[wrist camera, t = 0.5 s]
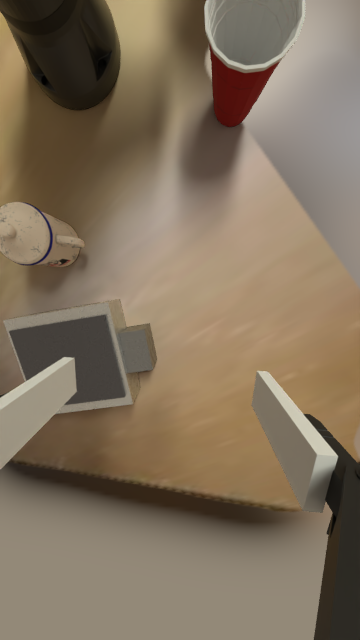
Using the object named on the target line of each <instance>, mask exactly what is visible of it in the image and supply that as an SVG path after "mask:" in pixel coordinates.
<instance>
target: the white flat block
mask: <svg viewBox="0 0 360 640" xmlns="http://www.w3.org/2000/svg"><path fill="white" fill-rule="evenodd" d="M3 322H4V325H5V328H6V330H7V333H8V336H9V339H10V342H11V344H12V347H13V350H14V353H15V356H16V358H17V361H18V364H19V367H20V370H21V372H22V375H23V378H24V381H25V382H26V381H27V380H29V379H31V378H32V377H34V376H35V375H37V374H38V373H40V372H42V371H43V370H45V369H46V368H48V367H49V366H51V365H52V364H54V363H56V362H57V361H59V360H60V359H62V358H63V357H71V358H74V359H75V374H76V389H77V392H76V393H75V394H74V395H73V396H72V397H71V398H70V399H69V400H68V401H67V402H66V403H65V404H64V405H63V406H62V407H61V408H60V409H59V410H58V411H57V412H56V413H55V414H60V413H67V412H75V411H83V410H91V409H99V408H106V407H114V406H122V405H130V404H133V403H134V401H135V398H136V396H137V394H138V392H139V390H140V383H139V378H138V374H137V372H140V371H147V370H153V368H154V366H155V363H156V361H157V356H156V351H155V346H154V342H153V337H152V332H151V327H150V323H149V324H143V325H137V326H131V327H126V323H125V318H124V314H123V310H122V306H121V301H120V299H116V300H111V301H105V302H99V303H94V304H88V305H82V306H76V307H71V308H65V309H59V310H53V311H48V312H42V313H36V314H30V315H26V316H21V317H17V318H12V319H7V320H3Z"/></svg>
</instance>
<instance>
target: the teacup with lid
mask: <svg viewBox="0 0 360 640" xmlns="http://www.w3.org/2000/svg"><path fill="white" fill-rule="evenodd" d="M84 246H85V242H84V241H83V240H82V239H79V238H78V236H77V234H76V232H75V230H74V229H73V228H72V227H71V226H70V225H69V224H67V223H65V222H63V221H61V220H59V219H57V218H55V217H52V216H50V215H48V214H46V213H44V212H42V211H40V210H39V209H37V208H36V207H34V206H32V205H30V204H28V203H24V202H11V203H8V204H5V205H3V206H2V207H1V208H0V251H1V252H2V253H3V254H4V255H5V256H6V257H7V258H8V259H10V260H12V261H13V262H15V263H18V264H21V265H44V266H54V267H65V266H68V265H70V264H72V263H73V262H74V261H75V260H76V258H77V257H78V254H79V250H80V248H84Z"/></svg>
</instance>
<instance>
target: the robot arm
mask: <svg viewBox="0 0 360 640" xmlns="http://www.w3.org/2000/svg"><path fill="white" fill-rule="evenodd" d="M0 11H1V13H2V14H3V16H4V17H5V19H6V21H7V24H8V26H9V28H10V30H11V32H12V35H13V37H14V39H15V41H16V44H17V46H18V48H19V50H20V53H21V55H22V57H23V59H24V61H25V64H26V66H27V68H28V69H29V71H30V73H31V75H32V76H33V78H34V79H35V80H36V82H37V83H38V84H39V85H40V87H41V88H42V89H43V91H44V92H45V93H46V94H47V95H48V96H49V97H50V98H51V99H52V100H53V101H54V102H56V103H57V104H59V105H61V106H63V107H66V108H69V109H75V110H81V109H87V108H90V107H92V106H94V105H96V104H98V103H99V102H101V101H102V100H103V99H104V98H105V97H106V96H107V95H108V93H109V92H110V91H111V89H112V87H113V85H114V83H115V81H116V78H117V75H118V72H119V67H120V43H119V38H118V34H117V31H116V27H115V24H114V21H113V17H112V14H111V12H110V9H109V7H108V5H107V3H106V1H105V0H0ZM76 392H77V389H76V374H75V359H74V358H71V357H63V358H62V359H60V360H59V361H57V362H56V363H54V364H52V365H51V366H49V367H48V368H46V369H45V370H43V371H42V372H40V373H38V374H37V375H35V376H34V377H32V378H31V379H29V380H27V381H26V382H24V383H23V384H21V385H20V386H18V387H17V388H15V389H13V390H12V391H10V392H8V393H5V394H3V395H1V396H0V469H1V468H2V467H3V466H4V465H5V464H6V463H7V462H8V461H9V460H10V459H11V458H12V457H13V456H14V455H15V454H16V453H17V452H18V451H19V450H20V449H21V448H22V447H23V446H24V445H25V444H26V443H27V442H28V441H29V440H30V439H31V438H32V437H33V436H34V435H35V434H36V433H37V432H38V431H39V430H40V429H41V428H42V427H43V426H44V425H45V424H46V422H47V421H48V420H49V419H50V418H51V417H52V416H53V415H54V414H55V413H56V412H57V411H58V410H59V409H60V408H61V407H62V406H63V405H64V404H65V403H66V402H67V401H68V400H69V399H70V398H71V397H72V396H73V395H74V394H75V393H76ZM252 407H253V409H254V411H255V413H256V415H257V417H258V419H259V421H260V423H261V425H262V428H263V430H264V432H265V434H266V436H267V438H268V440H269V442H270V444H271V446H272V448H273V450H274V452H275V454H276V456H277V458H278V461H279V463H280V465H281V467H282V469H283V471H284V473H285V475H286V477H287V479H288V481H289V483H290V485H291V487H292V489H293V491H294V494H295V496H296V498H297V500H298V502H299V504H300V506H301V508H302V510H303V511H309V512H320V513H322V512H323V508H324V505H325V502H327V504H328V505H329V507H330V509H331V510H332V512H333V514H332V517H331V520H330V524H329V527H328V530H327V534H328V535H329V536H328V544H327V550H326V558H325V565H324V572H323V578H322V586H321V594H320V600H319V607H318V614H317V621H316V628H315V635H314V640H360V464H358V463H357V462H356V461H355V460H354V459H353V458H352V457H351V455H350V454H349V453H348V452H347V451H346V450H345V449H344V448H343V447H342V445H341V444H340V443H339V442H338V441H337V440H336V439H335V438H334V437H333V435H332V434H331V433H330V432H329V431H327V429H326V428H325V427H324V426H323V424H322V423H321V422H320V421H318V420H317V419H316V418H314V417H313V416H311V415H310V414H303V413H302V412H301V411H300V410H299V408H298V407H297V406H296V405H295V404H294V402H293V401H292V400H291V399H290V398H289V396H288V395H287V394H286V393H285V392H284V390H283V389H282V388H281V387H280V386H279V384H278V383H277V382H276V381H275V379H274V378H273V377H272V376H271V375H270V373H269V372H267V371H257V374H256V380H255V387H254V393H253V400H252Z"/></svg>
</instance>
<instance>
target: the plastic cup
mask: <svg viewBox="0 0 360 640" xmlns="http://www.w3.org/2000/svg"><path fill="white" fill-rule="evenodd" d="M204 12H205V31H206V36H207V38H208V41H209V46H210V52H211V61H212V86H213V98H214V111H215V115H216V117H217V120H218V121H219V122H220V123H221V124H222V125H224V126H227V127H233V126H236V125H238V124H240V123H241V122H242V121H243V120H244V119H245V117H246V116H247V115H248V113H249V112H250V110H251V108H252V106H253V105H254V103H255V102H256V101H257V99H258V97H259V95H260V94H261V92H262V90H263V88H264V87H265V85H266V83H267V81H268V79H269V78H270V76H271V74H272V73H273V71H274V69H275V68H276V67H277V65H278V64H279V62H280V61H281V59H282V58H283V57H284V56H285V54H286V53H287V52H288V51H289V49H290V48H291V47H292V46H293V44H294V43H295V42H296V40H297V38H298V35H299V33H300V30H301V27H302V24H303V21H304V19H305V0H206V3H205V6H204Z"/></svg>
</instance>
